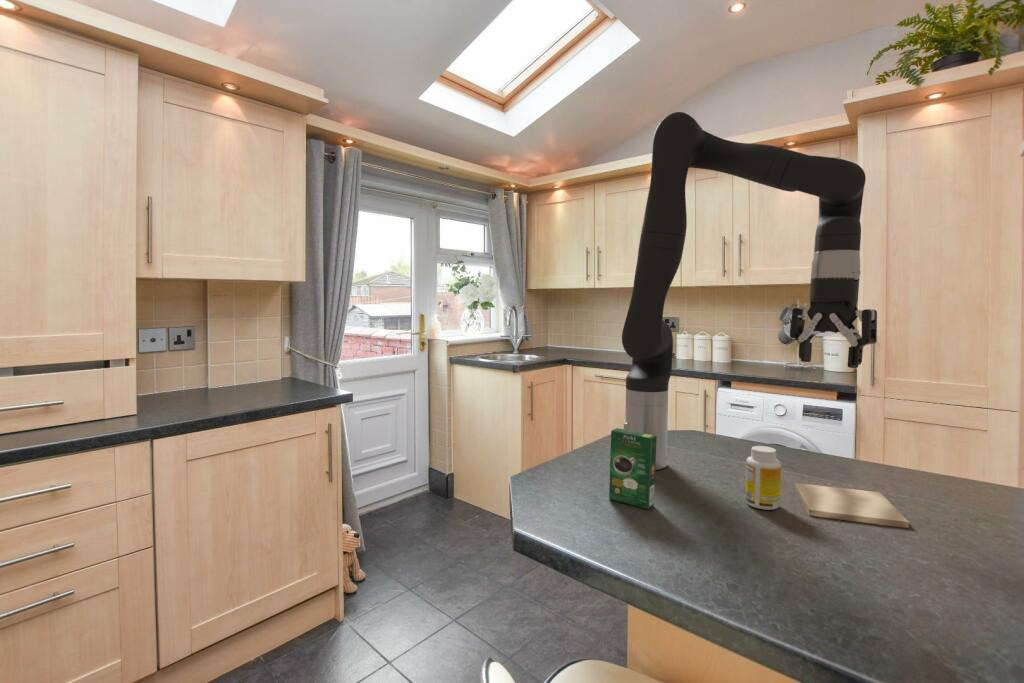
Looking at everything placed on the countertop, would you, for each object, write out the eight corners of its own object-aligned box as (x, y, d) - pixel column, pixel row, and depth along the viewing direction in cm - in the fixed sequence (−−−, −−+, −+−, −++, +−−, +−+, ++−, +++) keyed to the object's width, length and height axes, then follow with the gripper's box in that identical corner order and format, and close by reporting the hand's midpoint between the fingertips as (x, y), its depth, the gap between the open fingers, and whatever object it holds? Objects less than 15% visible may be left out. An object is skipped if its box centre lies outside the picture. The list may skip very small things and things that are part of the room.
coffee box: (656, 505, 89) (658, 433, 88) (650, 511, 87) (651, 436, 86) (615, 495, 94) (616, 427, 93) (608, 500, 92) (609, 430, 91)
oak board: (809, 515, 85) (809, 509, 85) (794, 487, 98) (794, 482, 98) (908, 528, 80) (909, 522, 80) (879, 497, 93) (879, 492, 93)
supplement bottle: (785, 505, 89) (787, 449, 88) (771, 513, 85) (773, 455, 85) (753, 496, 93) (755, 442, 93) (739, 504, 90) (740, 448, 89)
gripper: (784, 277, 96) (779, 361, 97) (865, 274, 83) (858, 370, 85) (808, 278, 99) (803, 359, 101) (889, 276, 87) (882, 368, 88)
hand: (828, 364), depth 93 cm, fingers open, 8 cm apart
